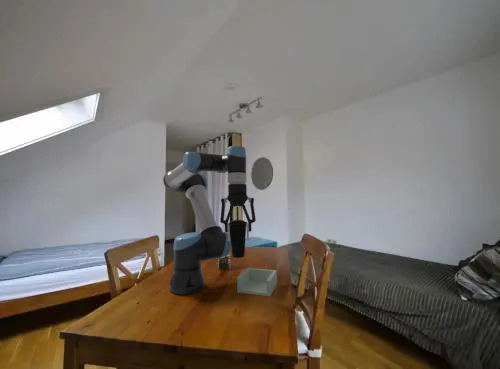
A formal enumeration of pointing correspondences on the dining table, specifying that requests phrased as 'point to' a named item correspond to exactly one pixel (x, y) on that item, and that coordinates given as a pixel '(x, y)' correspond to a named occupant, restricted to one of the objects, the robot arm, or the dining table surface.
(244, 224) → the drinking cup
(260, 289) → the u rest
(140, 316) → the dining table surface
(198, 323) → the dining table surface
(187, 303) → the dining table surface
